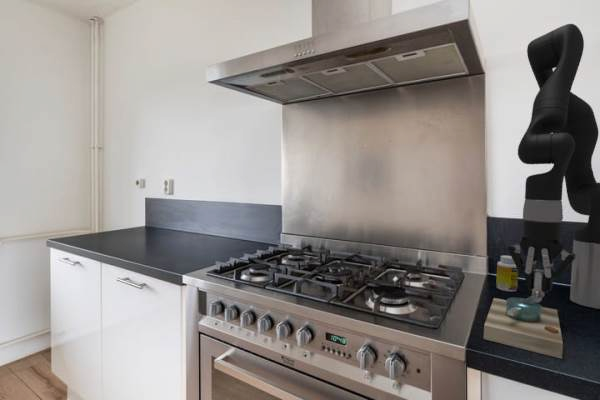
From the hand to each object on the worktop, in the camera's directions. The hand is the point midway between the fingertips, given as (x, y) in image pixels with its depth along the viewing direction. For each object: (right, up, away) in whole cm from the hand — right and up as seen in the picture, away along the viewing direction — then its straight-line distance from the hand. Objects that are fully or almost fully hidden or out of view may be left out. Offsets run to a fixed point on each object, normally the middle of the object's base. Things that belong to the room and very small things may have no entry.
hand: (538, 290), depth 79 cm
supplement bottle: (+7, -6, +23) cm, 25 cm away
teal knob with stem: (-6, -4, -4) cm, 8 cm away
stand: (-7, -8, -5) cm, 12 cm away
